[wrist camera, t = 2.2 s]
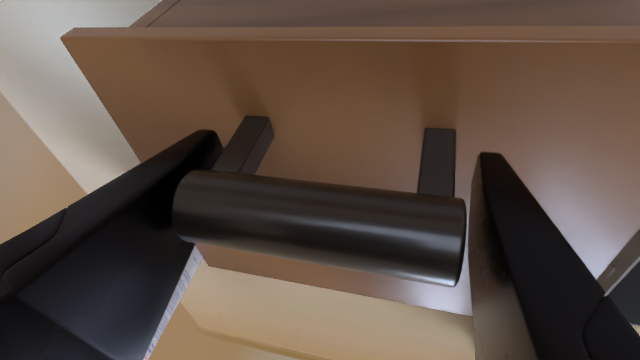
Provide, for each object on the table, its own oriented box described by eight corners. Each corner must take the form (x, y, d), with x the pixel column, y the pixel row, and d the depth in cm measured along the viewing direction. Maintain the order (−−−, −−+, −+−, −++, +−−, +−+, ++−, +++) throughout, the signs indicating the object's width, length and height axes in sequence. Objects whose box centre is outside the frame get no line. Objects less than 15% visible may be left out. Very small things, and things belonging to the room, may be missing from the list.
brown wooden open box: (181, -15, 14) (92, 54, 10) (652, -33, 10) (743, 67, 7) (253, 179, 21) (214, 254, 18) (535, 212, 17) (550, 315, 14)
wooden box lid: (73, 26, 10) (-79, 127, 7) (780, 23, 6) (1045, 241, 3) (213, 255, 18) (168, 343, 15) (550, 316, 14) (571, 449, 11)
